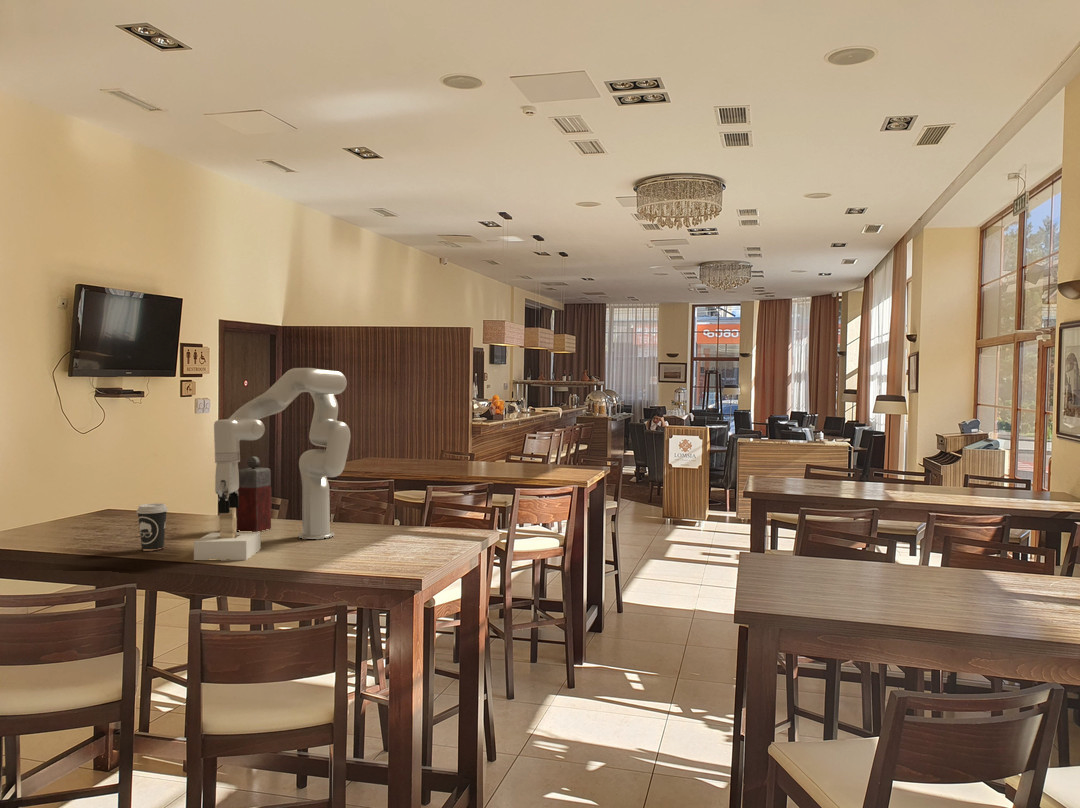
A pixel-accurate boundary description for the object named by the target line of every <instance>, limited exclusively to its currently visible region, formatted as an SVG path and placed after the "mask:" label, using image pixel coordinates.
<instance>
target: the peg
mask: <svg viewBox="0 0 1080 808" xmlns="http://www.w3.org/2000/svg"><path fill="white" fill-rule="evenodd" d="M219 532H220V539H221V538H236V532H237V508H230V512H229V513H219Z"/></svg>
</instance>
